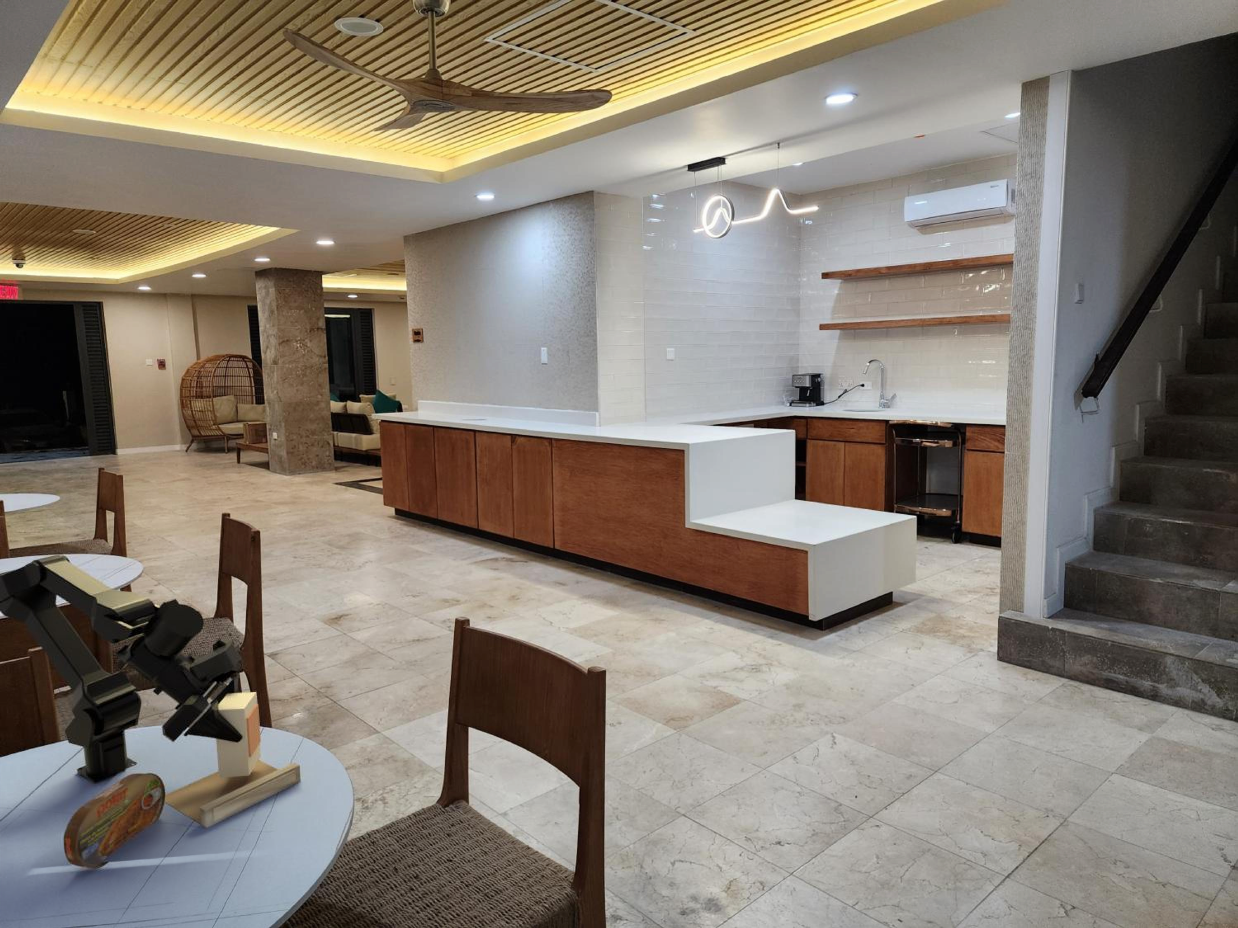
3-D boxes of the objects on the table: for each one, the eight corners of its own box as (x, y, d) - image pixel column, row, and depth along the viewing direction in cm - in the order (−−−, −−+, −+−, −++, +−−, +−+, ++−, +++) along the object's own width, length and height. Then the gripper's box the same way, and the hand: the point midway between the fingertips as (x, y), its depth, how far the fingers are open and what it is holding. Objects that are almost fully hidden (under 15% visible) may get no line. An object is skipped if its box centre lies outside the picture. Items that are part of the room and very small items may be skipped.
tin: (82, 882, 103) (75, 821, 102) (61, 879, 103) (55, 819, 102) (169, 816, 117) (164, 762, 116) (151, 813, 118) (146, 760, 117)
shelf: (158, 801, 121) (157, 781, 121) (251, 759, 133) (250, 741, 133) (208, 832, 113) (206, 811, 113) (302, 784, 126) (300, 765, 125)
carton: (219, 777, 124) (213, 710, 122) (232, 757, 129) (227, 693, 128) (251, 775, 124) (246, 708, 123) (262, 755, 130) (258, 691, 128)
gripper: (178, 652, 114) (265, 720, 117) (224, 610, 132) (298, 670, 135) (124, 708, 114) (212, 775, 117) (177, 658, 132) (252, 717, 135)
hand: (247, 730), depth 126 cm, fingers closed on carton, 6 cm apart
